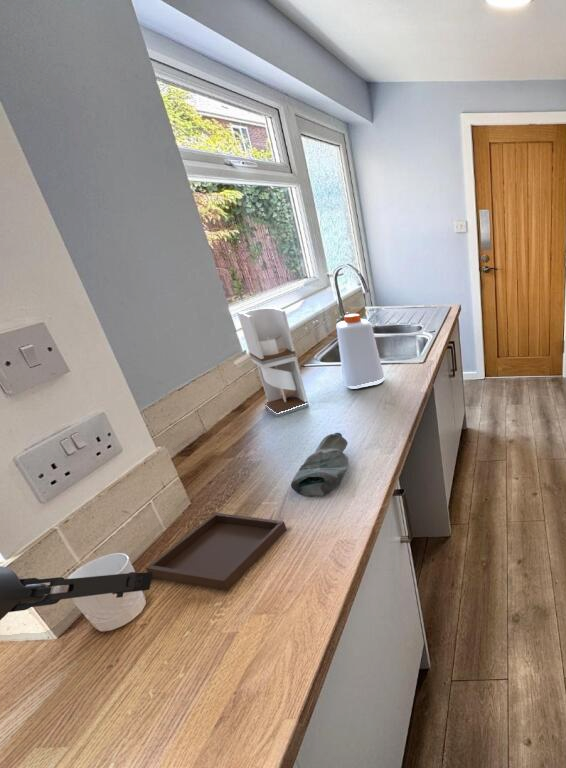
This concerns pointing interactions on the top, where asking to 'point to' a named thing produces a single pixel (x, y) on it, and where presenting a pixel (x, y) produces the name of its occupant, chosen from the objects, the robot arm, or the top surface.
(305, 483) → the grey hollow crumpled part
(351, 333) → the plastic bottle
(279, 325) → the white tiered shelf stand
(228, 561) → the serving tray
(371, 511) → the top surface
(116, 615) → the white cup
